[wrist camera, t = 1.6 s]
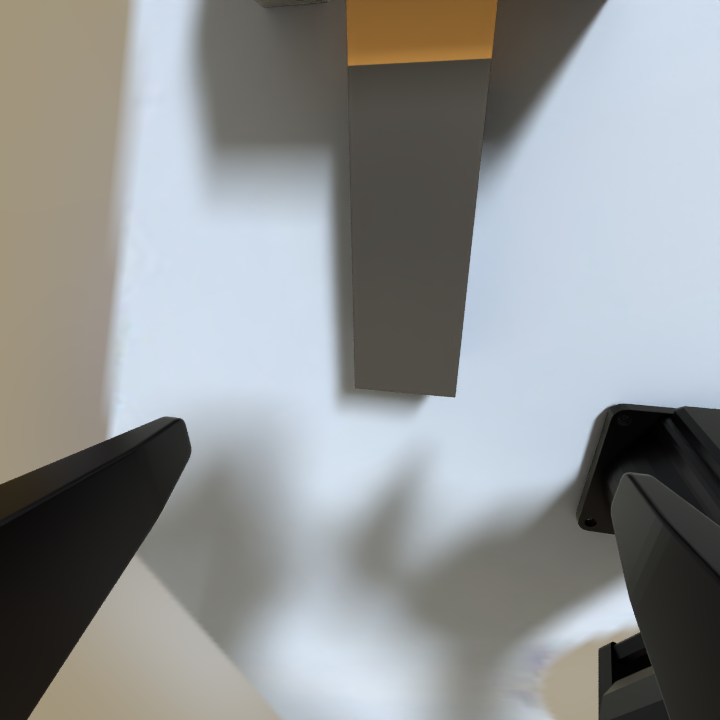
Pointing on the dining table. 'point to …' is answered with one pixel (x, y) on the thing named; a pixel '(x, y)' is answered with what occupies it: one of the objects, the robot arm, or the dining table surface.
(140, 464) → the robot arm
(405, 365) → the plug
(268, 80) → the dining table surface
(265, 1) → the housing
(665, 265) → the dining table surface
